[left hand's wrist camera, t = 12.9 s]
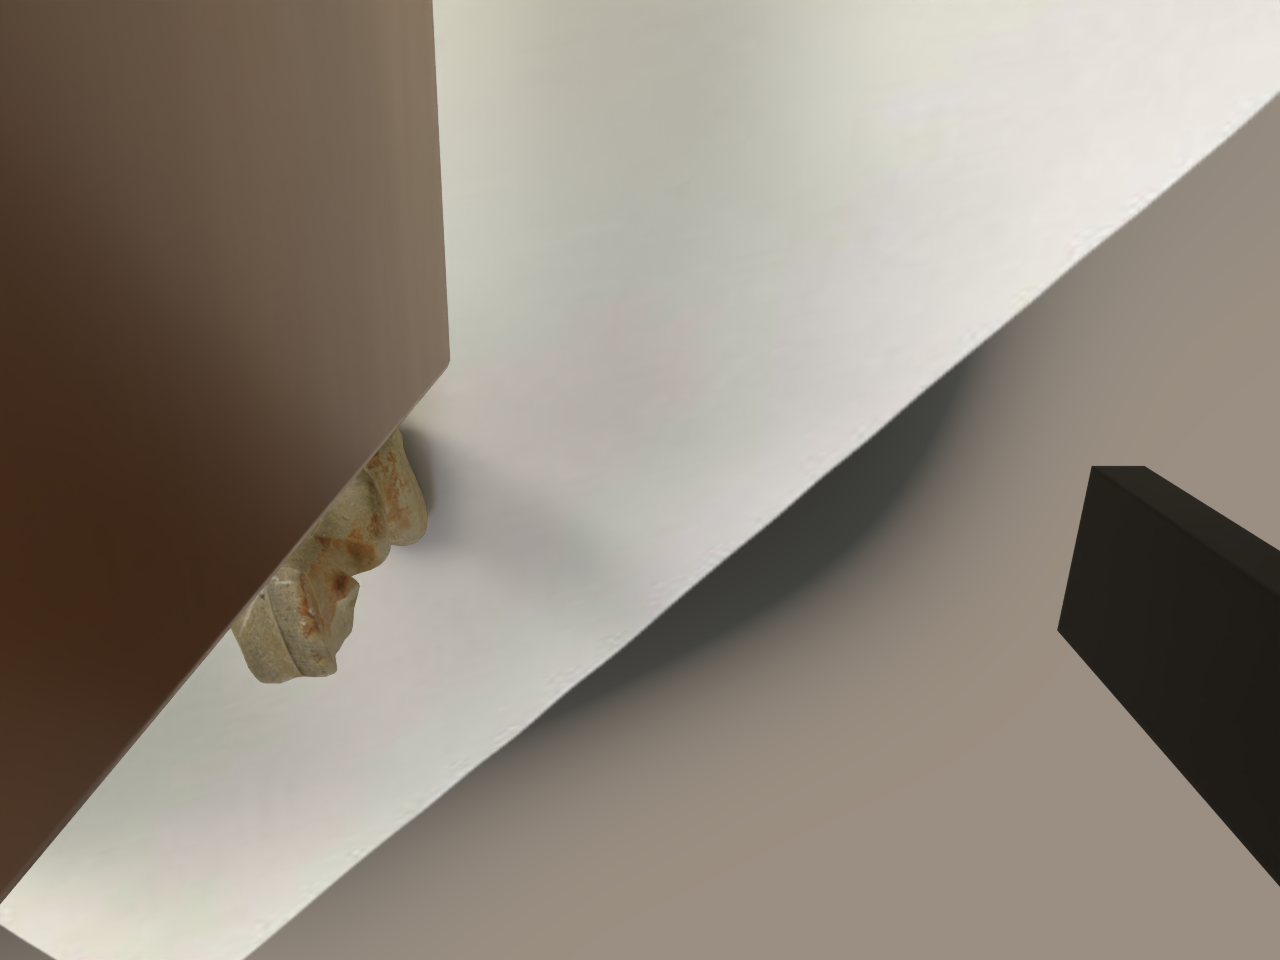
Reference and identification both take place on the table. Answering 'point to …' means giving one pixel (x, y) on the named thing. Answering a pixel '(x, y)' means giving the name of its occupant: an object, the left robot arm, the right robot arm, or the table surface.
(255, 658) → the sculpture
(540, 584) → the table surface
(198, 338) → the bar
